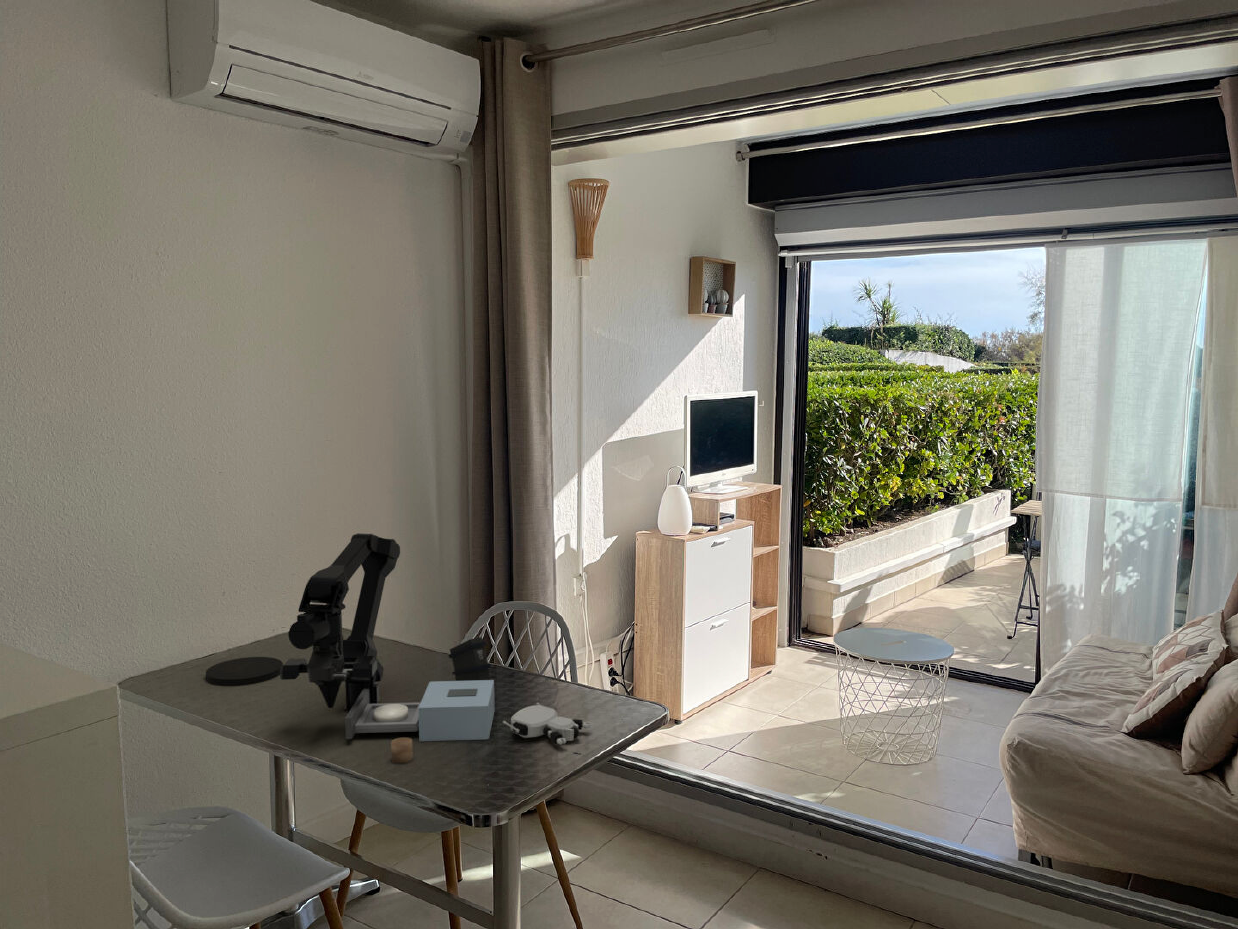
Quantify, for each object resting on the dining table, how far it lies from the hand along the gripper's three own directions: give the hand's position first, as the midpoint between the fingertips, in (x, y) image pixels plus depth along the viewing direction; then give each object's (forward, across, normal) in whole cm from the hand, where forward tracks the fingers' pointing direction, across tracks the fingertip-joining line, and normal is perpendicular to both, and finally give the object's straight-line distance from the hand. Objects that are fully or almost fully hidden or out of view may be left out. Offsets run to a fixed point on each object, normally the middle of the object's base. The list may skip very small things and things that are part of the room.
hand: (331, 707), depth 195 cm
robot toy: (+5, +45, -7) cm, 46 cm away
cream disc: (+2, +12, 0) cm, 13 cm away
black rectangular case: (+5, +28, +16) cm, 32 cm away
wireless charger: (+5, -31, +38) cm, 49 cm away
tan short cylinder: (+4, +18, -17) cm, 25 cm away
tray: (+3, +12, 0) cm, 12 cm away
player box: (+5, +26, 0) cm, 27 cm away
